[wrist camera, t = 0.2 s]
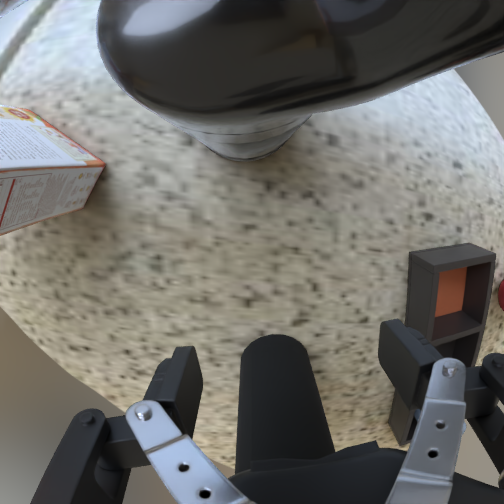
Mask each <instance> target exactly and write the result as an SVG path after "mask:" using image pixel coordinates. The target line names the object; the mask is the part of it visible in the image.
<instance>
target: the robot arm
mask: <svg viewBox="0 0 504 504" xmlns="http://www.w3.org/2000/svg"><path fill="white" fill-rule="evenodd" d="M26 1H28V0H0V19H1V18H2V17H3V16H5V15H6V14H8V13H9V12H11V11H12V10H14V9H15V8H17V7H18V6H20V5H21V4H23V3H25V2H26ZM96 39H97V45H98V49H99V52H100V56H101V58H102V60H103V63H104V65H105V67H106V69H107V71H108V72H109V74H110V75H111V77H112V78H113V80H114V81H115V82H116V83H117V84H118V86H119V87H120V88H121V89H122V90H123V91H124V92H125V93H126V94H127V95H129V96H130V97H131V98H132V99H134V100H135V101H136V102H138V103H139V104H141V105H142V106H143V107H145V108H146V109H148V110H150V111H151V112H153V113H155V114H156V115H158V116H160V117H161V118H163V119H164V120H166V121H167V122H169V123H171V124H172V125H174V126H176V127H177V128H179V129H181V130H182V131H184V132H186V133H187V134H189V135H190V136H192V137H193V138H195V139H197V140H198V141H200V142H201V143H203V144H204V145H205V146H206V147H208V148H209V149H210V150H211V151H213V152H214V153H216V154H218V155H220V156H222V157H224V158H227V159H230V160H235V161H253V160H258V159H262V158H264V157H267V156H269V155H271V154H272V153H274V152H276V151H277V150H278V149H279V148H280V147H282V146H283V145H284V144H285V142H286V141H287V140H288V139H289V137H290V136H291V135H292V134H293V133H294V132H295V131H296V130H297V129H298V128H299V127H300V126H301V125H302V124H303V123H304V122H305V121H306V120H307V119H309V118H310V117H311V116H312V115H313V114H315V113H321V112H326V111H332V110H336V109H341V108H346V107H350V106H355V105H358V104H362V103H366V102H369V101H372V100H375V99H378V98H380V97H383V96H385V95H388V94H391V93H393V92H395V91H398V90H400V89H402V88H405V87H407V86H409V85H412V84H414V83H417V82H419V81H422V80H424V79H427V78H430V77H432V76H435V75H438V74H440V73H443V72H446V71H449V70H451V69H454V68H457V67H459V66H462V65H465V64H468V63H471V62H474V61H477V60H480V59H483V58H486V57H489V56H492V55H496V54H499V53H502V52H504V0H101V2H100V6H99V10H98V14H97V22H96ZM378 358H379V362H380V365H381V366H382V368H383V369H384V371H385V373H386V374H387V376H388V378H389V379H390V381H391V382H392V384H393V386H394V387H395V389H396V391H397V392H398V394H399V396H400V397H401V399H402V401H403V402H404V404H405V406H406V407H407V409H408V411H409V412H411V411H414V410H417V409H420V411H421V413H420V416H419V420H418V423H417V426H416V429H415V432H414V435H413V438H412V440H411V443H410V446H409V449H408V451H403V450H399V449H393V448H379V446H378V444H377V442H376V440H375V441H372V442H368V443H364V444H360V445H355V446H351V447H347V448H344V449H342V450H340V451H337V452H335V453H332V454H330V455H327V456H325V457H322V458H320V459H316V460H307V459H288V458H278V459H268V460H256V461H251V469H250V470H246V471H243V472H240V473H237V474H235V475H233V476H231V477H230V478H228V479H227V478H226V477H225V476H224V475H223V474H222V473H221V472H220V470H219V469H218V468H217V467H216V466H215V465H214V464H213V463H212V462H211V461H210V460H209V458H208V457H207V456H206V455H205V454H204V453H203V452H202V451H201V449H200V448H199V447H198V446H197V445H196V444H195V442H194V441H193V440H192V438H193V433H194V428H195V423H196V419H197V414H198V409H199V404H200V399H201V394H202V390H203V378H202V373H201V369H200V365H199V361H198V357H197V353H196V350H195V347H194V346H184V347H176V348H175V351H174V353H173V356H172V358H166V359H165V360H164V361H162V362H161V363H160V364H159V365H158V367H157V369H156V371H155V375H154V376H153V378H152V381H151V382H150V385H149V387H148V389H147V391H146V394H145V396H144V398H143V400H142V401H139V402H136V403H134V404H133V405H131V406H130V407H129V408H128V409H127V411H126V413H125V415H123V416H118V417H111V418H106V417H105V415H104V413H103V412H102V411H100V410H98V409H86V410H83V411H81V412H79V413H78V414H77V415H76V416H74V418H73V420H72V421H71V423H70V425H69V427H68V429H67V431H66V432H65V435H64V436H63V438H62V440H61V442H60V444H59V446H58V447H57V450H56V452H55V453H54V456H53V457H52V459H51V461H50V463H49V465H48V467H47V469H46V471H45V473H44V475H43V477H42V479H41V481H40V484H39V486H38V488H37V490H36V492H35V494H34V497H33V499H32V501H31V503H30V504H122V502H123V498H124V494H125V491H126V487H127V482H128V479H129V476H130V472H131V468H133V467H140V466H147V465H152V466H153V468H154V469H155V471H156V472H157V474H158V476H159V477H160V479H161V480H162V482H163V483H164V485H165V486H166V488H167V489H168V491H169V492H170V494H171V495H172V497H173V498H174V499H175V501H176V502H177V504H504V413H503V412H502V411H501V409H500V408H499V407H498V406H497V404H498V402H499V400H500V401H501V402H502V404H503V405H504V354H500V353H491V354H488V355H486V356H485V357H484V359H483V362H482V366H476V367H466V366H465V365H464V364H463V363H462V362H461V361H459V360H457V359H454V358H444V357H443V356H442V355H441V354H440V353H439V352H438V351H437V350H436V349H435V348H434V346H433V345H432V344H431V343H429V341H428V340H427V339H425V337H424V336H423V335H422V334H421V333H420V332H419V331H417V330H415V329H413V328H411V327H406V326H405V325H404V324H403V323H402V322H401V321H400V320H399V319H393V320H388V321H383V322H381V325H380V336H379V348H378ZM464 419H467V421H468V422H469V424H470V425H471V427H472V428H473V430H474V432H475V433H476V435H477V436H478V438H479V440H480V441H481V443H482V444H483V446H484V448H485V450H486V451H487V453H488V455H489V456H490V458H491V460H492V461H493V463H494V465H495V467H496V468H497V470H498V472H499V474H500V476H499V480H498V485H499V488H498V487H494V486H492V485H488V484H485V483H483V482H480V481H477V480H474V479H472V478H469V477H466V476H464V475H461V474H459V473H456V472H454V470H455V466H456V461H457V457H458V451H459V447H460V442H461V437H462V431H463V425H464Z"/></svg>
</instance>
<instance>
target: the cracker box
mask: <svg viewBox="0 0 504 504" xmlns="http://www.w3.org/2000/svg"><path fill="white" fill-rule="evenodd" d="M105 165H106V164H105V163H104V162H103V161H101V160H100V159H99V158H97V157H96V156H94V155H93V154H91V153H90V152H89V151H87V150H86V149H84V148H83V147H82V146H80V145H79V144H77V143H76V142H74V141H73V140H71V139H70V138H69V137H67V136H66V135H64V134H63V133H62V132H60V131H59V130H57V129H56V128H55V127H53V126H52V125H50V124H49V123H47V122H46V121H45V120H43V119H42V118H41V117H39V116H38V115H36V114H35V113H33V112H32V111H30V110H28V109H23V108H17V107H11V106H5V105H0V236H1V235H4V234H7V233H10V232H12V231H15V230H18V229H21V228H24V227H27V226H30V225H33V224H36V223H39V222H42V221H45V220H48V219H51V218H54V217H58V216H61V215H64V214H67V213H71V212H74V211H78V210H81V209H83V207H84V205H85V203H86V201H87V199H88V197H89V195H90V193H91V191H92V189H93V187H94V185H95V183H96V181H97V179H98V177H99V176H100V174H101V172H102V170H103V168H104V167H105Z"/></svg>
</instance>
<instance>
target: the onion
mask: <svg viewBox="0 0 504 504" xmlns="http://www.w3.org/2000/svg"><path fill="white" fill-rule="evenodd" d="M498 300H499V304H500V307H501V308H502V310H503V311H504V280H503V281H502V282H501V284H500V287H499V291H498Z"/></svg>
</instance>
